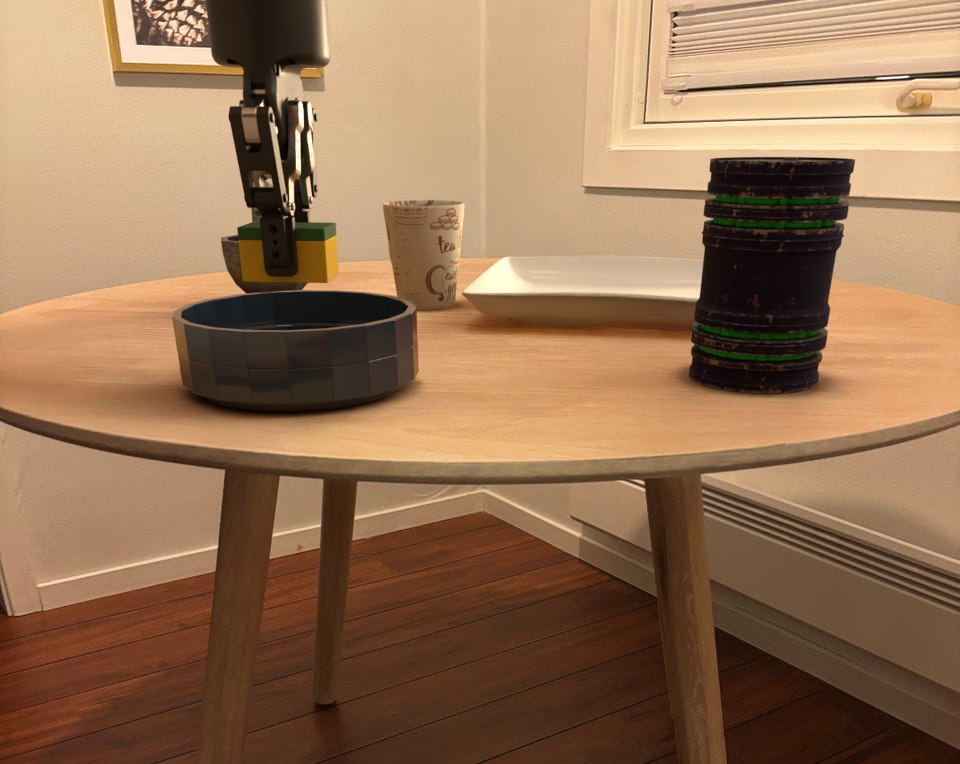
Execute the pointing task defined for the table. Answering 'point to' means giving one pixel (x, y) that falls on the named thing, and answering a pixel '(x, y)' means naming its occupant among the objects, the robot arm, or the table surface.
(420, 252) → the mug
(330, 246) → the sponge
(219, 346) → the bowl
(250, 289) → the mortar and pestle
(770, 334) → the storage jar
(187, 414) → the table surface
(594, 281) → the square plate
